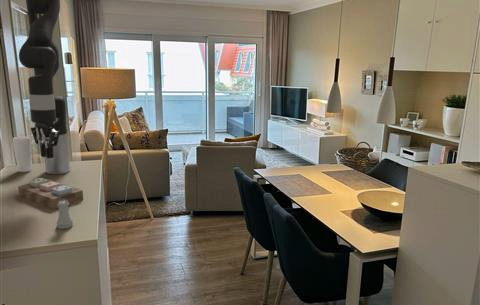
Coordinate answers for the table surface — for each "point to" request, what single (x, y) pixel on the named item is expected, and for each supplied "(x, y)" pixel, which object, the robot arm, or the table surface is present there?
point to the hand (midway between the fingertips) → (47, 156)
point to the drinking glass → (23, 153)
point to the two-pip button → (61, 190)
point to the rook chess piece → (64, 215)
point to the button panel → (49, 195)
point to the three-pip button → (37, 182)
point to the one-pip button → (49, 186)
